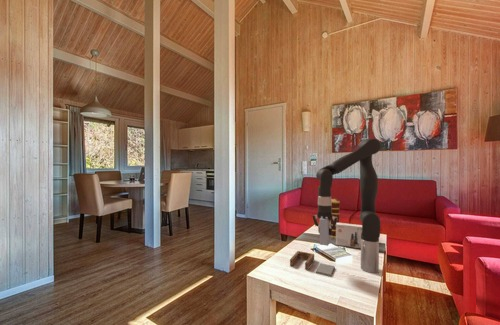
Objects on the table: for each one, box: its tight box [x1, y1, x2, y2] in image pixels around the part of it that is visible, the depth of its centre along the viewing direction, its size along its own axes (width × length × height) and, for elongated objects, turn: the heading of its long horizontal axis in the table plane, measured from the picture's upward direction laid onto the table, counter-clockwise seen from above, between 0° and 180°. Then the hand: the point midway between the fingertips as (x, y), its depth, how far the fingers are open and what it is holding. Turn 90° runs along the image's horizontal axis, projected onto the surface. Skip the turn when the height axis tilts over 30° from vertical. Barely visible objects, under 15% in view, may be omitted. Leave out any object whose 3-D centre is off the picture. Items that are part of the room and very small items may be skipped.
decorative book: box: [330, 197, 341, 239], centre depth 200 cm, size 22×8×30 cm, turn 168°
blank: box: [318, 218, 332, 247], centre depth 131 cm, size 4×9×14 cm, turn 152°
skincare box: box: [335, 222, 362, 249], centre depth 171 cm, size 21×6×16 cm, turn 68°
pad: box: [315, 262, 335, 277], centre depth 131 cm, size 8×12×1 cm, turn 151°
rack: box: [289, 250, 315, 271], centre depth 140 cm, size 10×16×4 cm
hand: (325, 234), depth 131 cm, fingers closed on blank, 4 cm apart
